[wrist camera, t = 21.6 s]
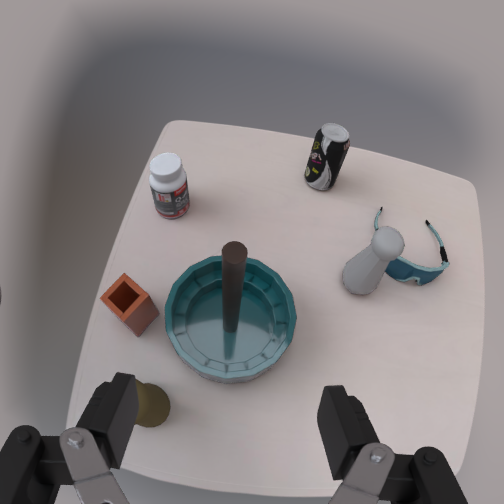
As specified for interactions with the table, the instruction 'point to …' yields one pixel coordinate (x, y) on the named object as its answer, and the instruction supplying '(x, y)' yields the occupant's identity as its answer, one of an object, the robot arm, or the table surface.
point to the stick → (232, 283)
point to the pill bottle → (169, 185)
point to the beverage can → (327, 156)
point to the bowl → (211, 322)
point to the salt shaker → (373, 261)
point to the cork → (151, 405)
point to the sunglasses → (408, 270)
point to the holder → (130, 304)
